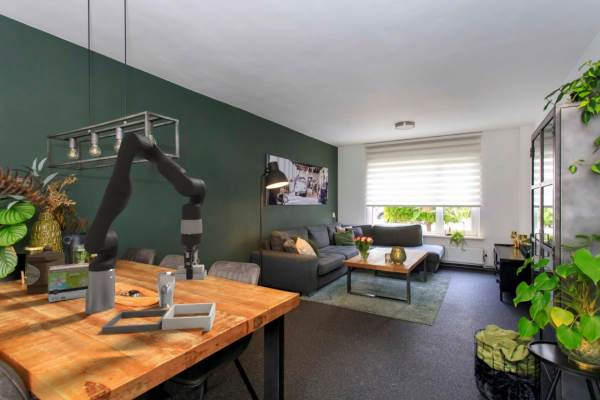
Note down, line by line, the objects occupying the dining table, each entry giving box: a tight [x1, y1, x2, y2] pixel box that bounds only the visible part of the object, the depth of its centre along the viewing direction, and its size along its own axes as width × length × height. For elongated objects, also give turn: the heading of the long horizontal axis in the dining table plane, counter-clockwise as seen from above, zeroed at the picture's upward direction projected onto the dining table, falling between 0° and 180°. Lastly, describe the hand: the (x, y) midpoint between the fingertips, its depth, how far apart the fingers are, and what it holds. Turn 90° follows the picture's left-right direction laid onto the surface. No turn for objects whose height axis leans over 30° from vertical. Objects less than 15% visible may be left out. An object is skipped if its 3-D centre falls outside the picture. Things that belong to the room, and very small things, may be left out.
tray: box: [101, 308, 170, 334], centre depth 107 cm, size 18×15×3 cm
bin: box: [161, 302, 216, 332], centre depth 110 cm, size 16×15×5 cm
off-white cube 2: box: [193, 264, 205, 273], centre depth 110 cm, size 4×4×4 cm
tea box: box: [47, 262, 89, 303], centre depth 139 cm, size 15×10×15 cm
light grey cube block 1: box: [177, 264, 186, 274], centre depth 109 cm, size 4×4×4 cm
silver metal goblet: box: [156, 270, 176, 309], centre depth 125 cm, size 7×7×15 cm
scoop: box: [170, 269, 207, 282], centre depth 110 cm, size 12×6×2 cm, turn 99°
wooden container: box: [26, 245, 66, 295], centre depth 150 cm, size 15×15×22 cm
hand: (191, 277), depth 110 cm, fingers closed on scoop, 5 cm apart
